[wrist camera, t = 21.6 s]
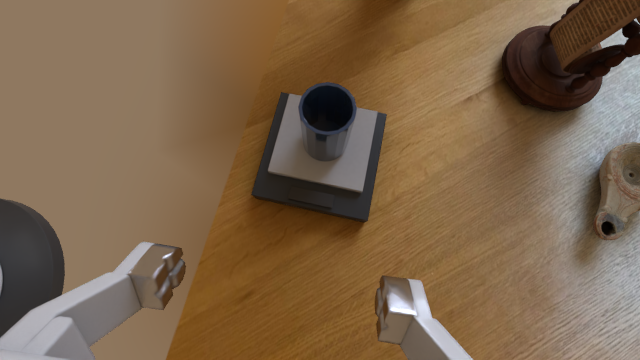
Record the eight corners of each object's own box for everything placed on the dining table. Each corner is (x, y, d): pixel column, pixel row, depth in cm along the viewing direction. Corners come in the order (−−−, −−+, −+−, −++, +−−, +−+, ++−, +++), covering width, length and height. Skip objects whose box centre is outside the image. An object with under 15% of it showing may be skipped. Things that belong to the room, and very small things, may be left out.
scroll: (485, 41, 47) (605, -107, 27) (569, 33, 47) (743, -117, 28) (510, 120, 43) (668, 14, 24) (600, 111, 44) (825, 0, 24)
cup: (298, 156, 38) (292, 127, 29) (308, 116, 39) (306, 77, 31) (342, 165, 38) (350, 140, 29) (351, 124, 39) (361, 88, 30)
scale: (255, 198, 40) (249, 193, 36) (283, 100, 44) (280, 88, 40) (364, 222, 39) (369, 220, 36) (383, 121, 43) (388, 110, 40)
